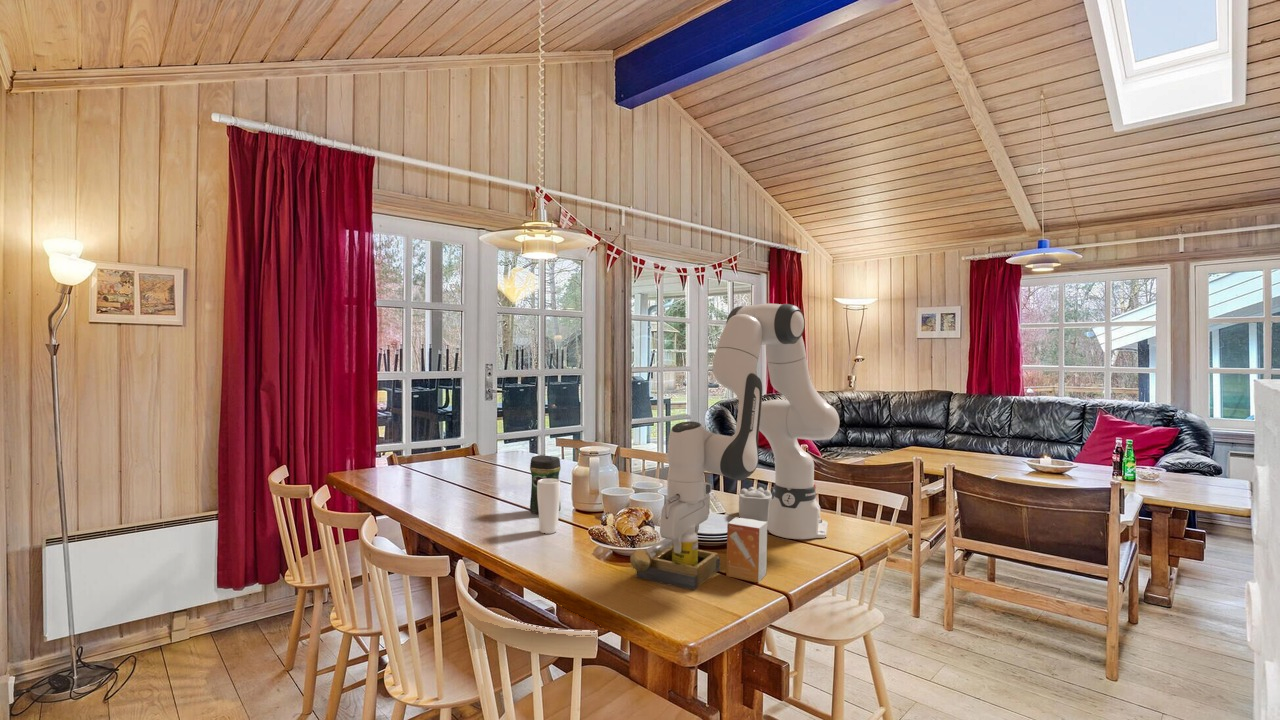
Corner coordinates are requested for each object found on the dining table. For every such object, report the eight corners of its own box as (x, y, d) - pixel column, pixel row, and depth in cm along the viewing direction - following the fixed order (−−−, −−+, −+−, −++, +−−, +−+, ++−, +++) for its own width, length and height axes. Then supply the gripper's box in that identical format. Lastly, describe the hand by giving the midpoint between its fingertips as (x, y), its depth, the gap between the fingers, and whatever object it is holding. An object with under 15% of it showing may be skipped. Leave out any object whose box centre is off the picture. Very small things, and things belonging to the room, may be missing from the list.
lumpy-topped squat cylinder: (737, 519, 196) (738, 492, 196) (740, 509, 209) (740, 483, 209) (771, 522, 194) (771, 494, 194) (772, 511, 207) (772, 485, 206)
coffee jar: (564, 511, 204) (564, 455, 204) (550, 517, 197) (551, 459, 197) (540, 507, 208) (540, 452, 208) (525, 513, 201) (526, 456, 201)
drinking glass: (562, 528, 185) (562, 478, 185) (557, 535, 178) (557, 483, 178) (540, 527, 186) (540, 477, 185) (534, 534, 179) (534, 482, 178)
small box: (725, 577, 148) (726, 522, 147) (735, 568, 153) (735, 516, 153) (758, 583, 144) (759, 527, 143) (767, 574, 149) (767, 521, 149)
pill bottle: (667, 571, 148) (667, 525, 148) (679, 563, 153) (680, 519, 153) (690, 576, 145) (690, 529, 144) (702, 568, 150) (702, 523, 150)
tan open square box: (662, 557, 160) (662, 531, 160) (719, 569, 152) (720, 541, 152) (630, 578, 146) (630, 548, 146) (691, 592, 138) (692, 561, 138)
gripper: (678, 501, 138) (677, 563, 138) (714, 483, 156) (714, 538, 156) (653, 497, 141) (652, 558, 141) (691, 480, 159) (691, 534, 159)
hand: (685, 547), depth 149 cm, fingers closed on pill bottle, 6 cm apart
